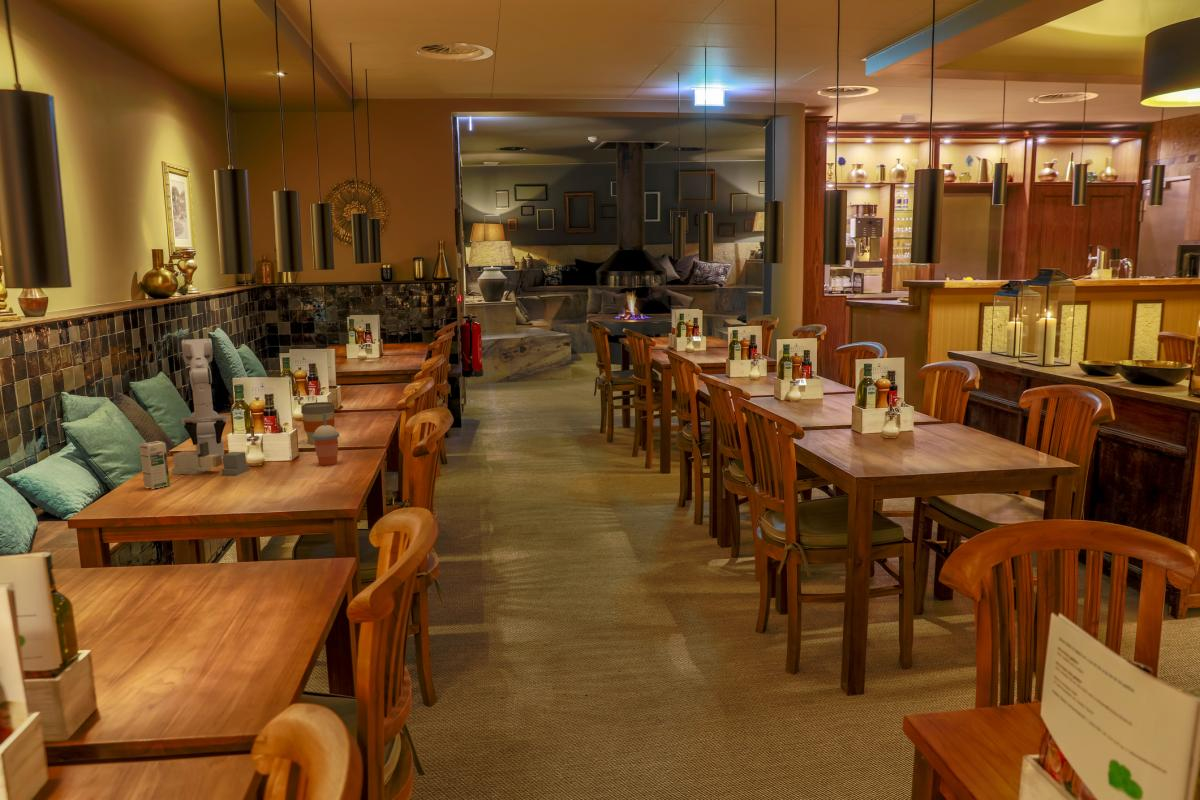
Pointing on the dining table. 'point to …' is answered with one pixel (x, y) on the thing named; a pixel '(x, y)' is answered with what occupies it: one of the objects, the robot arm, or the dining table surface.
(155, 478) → the syrup box
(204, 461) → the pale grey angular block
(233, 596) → the dining table surface
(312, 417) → the reusable coffee cup
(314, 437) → the cup with straw
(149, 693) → the dining table surface
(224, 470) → the slate stepped block
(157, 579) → the dining table surface
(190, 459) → the beige stepped block
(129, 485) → the dining table surface
